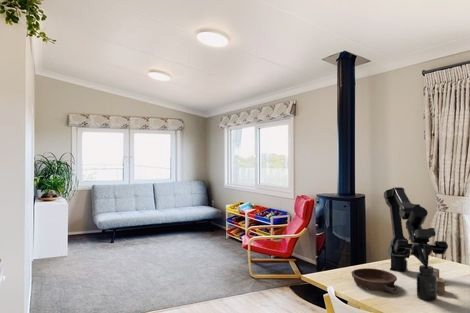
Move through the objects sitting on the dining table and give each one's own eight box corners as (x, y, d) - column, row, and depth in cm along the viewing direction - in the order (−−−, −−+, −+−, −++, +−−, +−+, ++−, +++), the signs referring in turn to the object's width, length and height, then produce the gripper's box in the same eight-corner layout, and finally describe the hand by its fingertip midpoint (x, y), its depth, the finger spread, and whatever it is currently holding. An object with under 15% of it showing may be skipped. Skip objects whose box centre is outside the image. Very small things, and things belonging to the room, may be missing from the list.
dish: (366, 275, 160) (366, 264, 160) (410, 290, 141) (410, 278, 141) (339, 281, 152) (339, 270, 152) (382, 299, 133) (382, 286, 133)
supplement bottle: (434, 295, 135) (434, 265, 135) (438, 302, 129) (438, 270, 129) (415, 293, 138) (415, 263, 137) (418, 300, 131) (418, 268, 131)
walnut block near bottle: (430, 292, 139) (430, 280, 139) (428, 288, 143) (428, 276, 143) (444, 294, 137) (444, 281, 137) (442, 290, 141) (442, 277, 141)
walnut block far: (422, 280, 153) (422, 268, 153) (427, 277, 156) (427, 266, 156) (435, 283, 149) (435, 271, 149) (439, 280, 152) (439, 269, 152)
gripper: (396, 219, 140) (405, 254, 129) (445, 220, 137) (460, 256, 126) (390, 235, 148) (399, 269, 136) (437, 236, 145) (450, 271, 134)
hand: (426, 266), depth 133 cm, fingers closed, pressing on supplement bottle
